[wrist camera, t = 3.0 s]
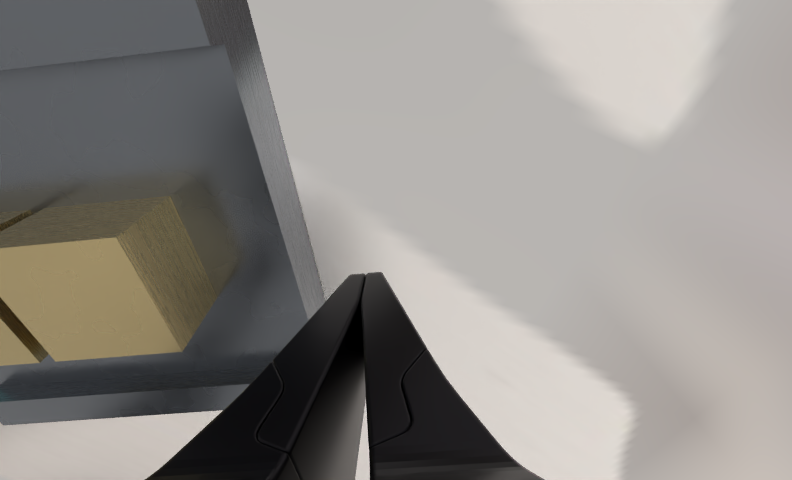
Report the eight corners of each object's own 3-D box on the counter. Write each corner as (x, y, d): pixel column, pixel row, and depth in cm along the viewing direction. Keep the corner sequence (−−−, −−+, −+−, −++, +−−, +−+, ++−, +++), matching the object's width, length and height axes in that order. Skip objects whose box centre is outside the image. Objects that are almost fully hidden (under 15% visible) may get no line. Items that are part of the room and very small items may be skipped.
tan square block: (217, 297, 13) (182, 351, 11) (110, 306, 13) (55, 361, 11) (170, 195, 11) (116, 237, 9) (45, 208, 11) (-39, 252, 9)
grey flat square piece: (336, 342, 18) (325, 402, 15) (64, 363, 18) (3, 425, 15) (241, -20, 10) (183, -37, 7) (-210, 37, 11) (-423, 41, 8)
